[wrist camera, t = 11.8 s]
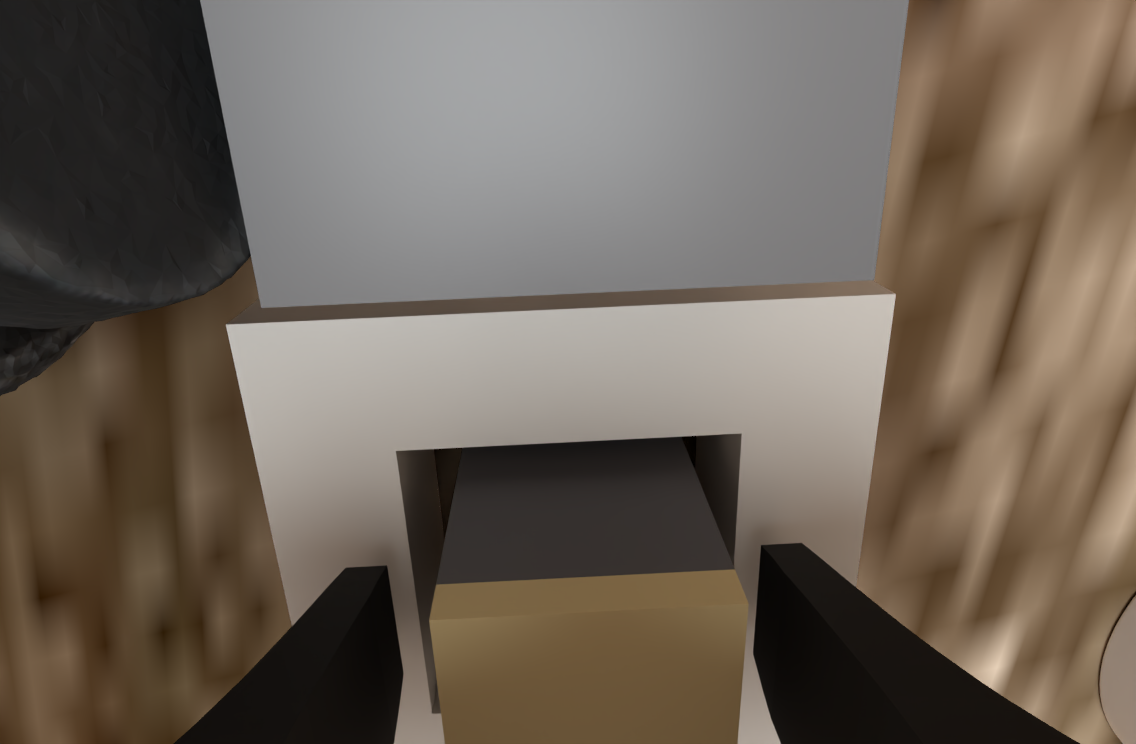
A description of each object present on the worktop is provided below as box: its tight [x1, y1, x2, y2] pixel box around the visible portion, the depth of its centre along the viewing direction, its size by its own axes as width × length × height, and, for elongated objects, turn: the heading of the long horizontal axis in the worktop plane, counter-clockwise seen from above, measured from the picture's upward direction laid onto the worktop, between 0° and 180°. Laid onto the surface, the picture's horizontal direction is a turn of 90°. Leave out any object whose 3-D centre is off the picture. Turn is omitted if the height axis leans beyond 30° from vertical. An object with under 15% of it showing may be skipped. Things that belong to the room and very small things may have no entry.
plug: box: [429, 437, 749, 744], centre depth 11 cm, size 4×4×6 cm
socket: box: [226, 280, 896, 744], centre depth 13 cm, size 9×9×3 cm
